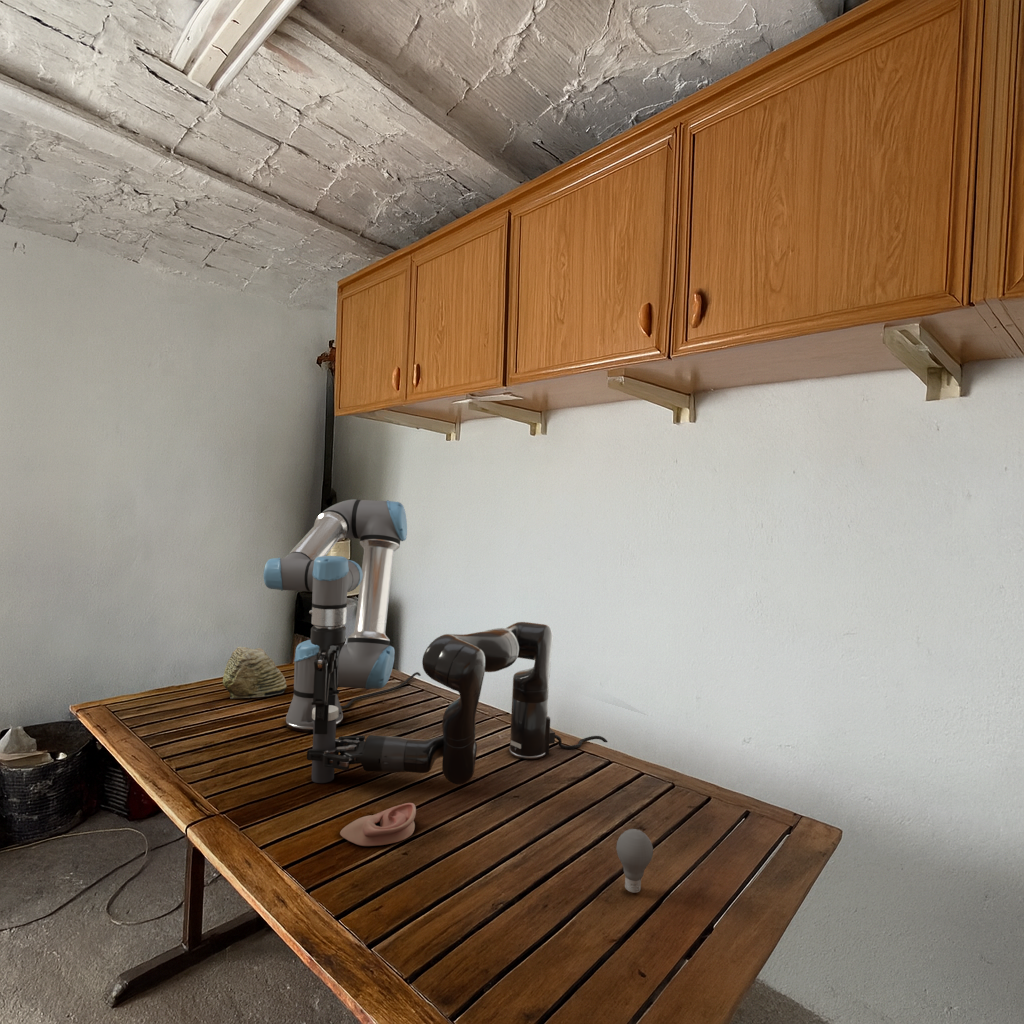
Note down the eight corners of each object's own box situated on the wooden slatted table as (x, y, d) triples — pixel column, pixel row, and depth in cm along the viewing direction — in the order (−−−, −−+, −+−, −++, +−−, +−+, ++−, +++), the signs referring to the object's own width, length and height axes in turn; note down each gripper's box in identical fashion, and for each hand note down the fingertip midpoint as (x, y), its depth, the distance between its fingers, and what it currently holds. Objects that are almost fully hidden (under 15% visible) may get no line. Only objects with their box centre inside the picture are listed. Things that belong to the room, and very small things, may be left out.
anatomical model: (332, 820, 116) (360, 792, 128) (332, 841, 116) (359, 811, 128) (400, 830, 114) (422, 801, 125) (400, 852, 114) (421, 821, 125)
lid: (306, 716, 142) (307, 708, 142) (329, 711, 146) (330, 703, 146) (320, 723, 138) (320, 715, 138) (343, 717, 142) (343, 709, 142)
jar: (318, 772, 145) (320, 707, 145) (338, 775, 144) (340, 709, 144) (307, 781, 141) (309, 714, 140) (327, 784, 140) (330, 716, 139)
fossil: (218, 695, 195) (220, 647, 195) (278, 685, 208) (279, 640, 207) (228, 703, 189) (230, 653, 188) (289, 692, 201) (290, 645, 201)
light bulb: (610, 879, 108) (613, 822, 108) (644, 879, 109) (647, 822, 109) (619, 902, 102) (622, 840, 102) (655, 901, 103) (658, 840, 103)
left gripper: (322, 617, 151) (318, 713, 151) (299, 633, 132) (295, 743, 133) (354, 618, 151) (350, 714, 152) (335, 635, 133) (331, 744, 133)
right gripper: (394, 726, 149) (323, 721, 149) (379, 749, 134) (300, 745, 135) (393, 757, 149) (322, 753, 150) (378, 785, 135) (299, 780, 135)
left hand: (324, 728), depth 142 cm, fingers closed on lid, 6 cm apart
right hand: (312, 749), depth 142 cm, fingers closed on jar, 5 cm apart
